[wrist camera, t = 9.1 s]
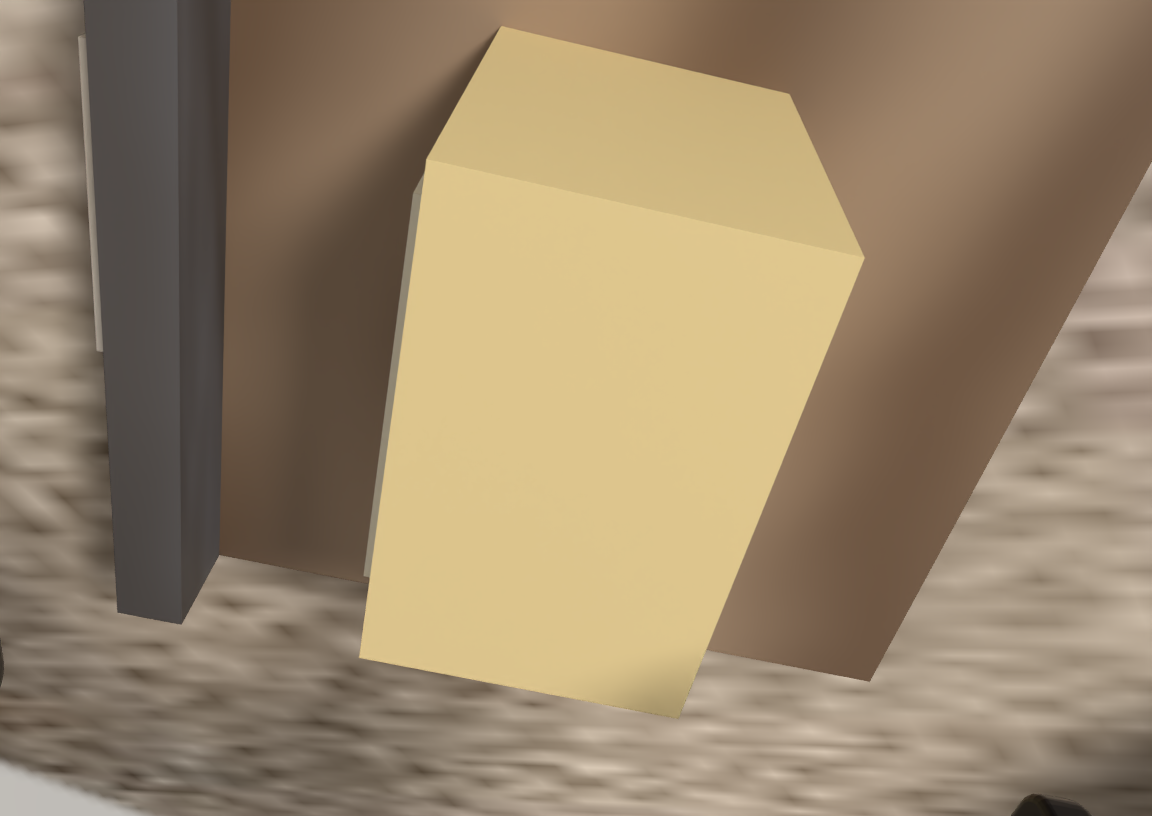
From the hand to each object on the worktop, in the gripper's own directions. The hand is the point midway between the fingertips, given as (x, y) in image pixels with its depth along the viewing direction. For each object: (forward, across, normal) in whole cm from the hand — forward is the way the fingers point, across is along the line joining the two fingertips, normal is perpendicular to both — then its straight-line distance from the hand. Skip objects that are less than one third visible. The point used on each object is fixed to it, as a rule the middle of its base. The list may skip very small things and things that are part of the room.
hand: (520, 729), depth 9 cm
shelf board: (+10, -1, 0) cm, 11 cm away
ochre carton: (+10, 0, 0) cm, 10 cm away
